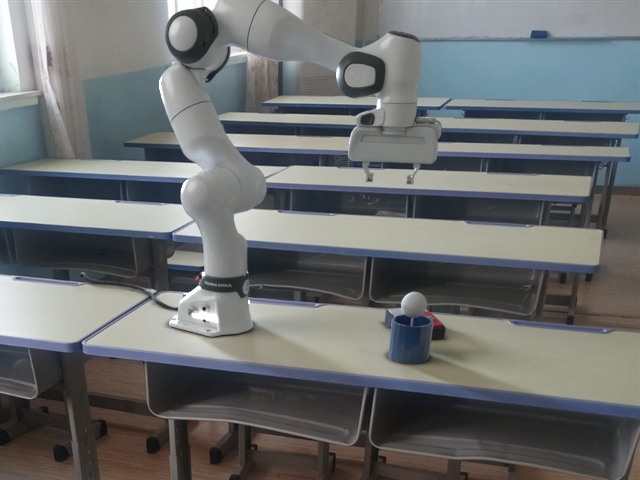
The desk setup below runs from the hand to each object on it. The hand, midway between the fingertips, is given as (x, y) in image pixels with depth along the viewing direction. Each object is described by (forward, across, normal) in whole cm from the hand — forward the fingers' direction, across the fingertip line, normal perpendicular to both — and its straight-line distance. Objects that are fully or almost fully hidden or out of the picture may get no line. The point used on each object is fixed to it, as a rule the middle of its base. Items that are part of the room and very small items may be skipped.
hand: (389, 182), depth 187 cm
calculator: (+37, -9, -7) cm, 39 cm away
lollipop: (+36, -10, +13) cm, 40 cm away
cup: (+37, -10, +13) cm, 40 cm away
